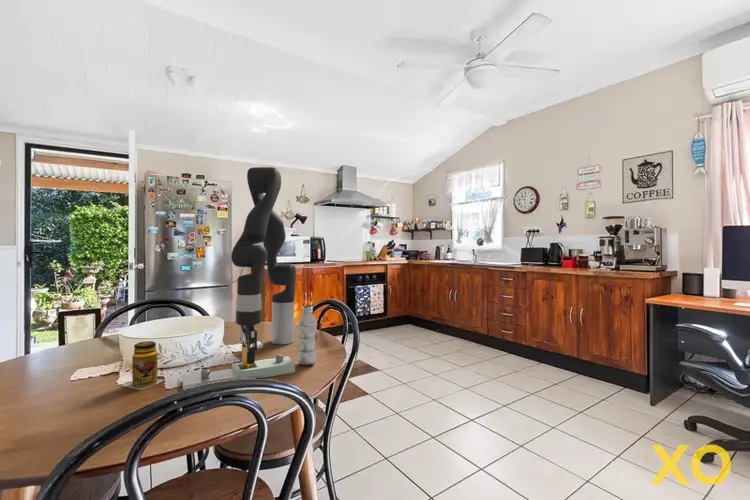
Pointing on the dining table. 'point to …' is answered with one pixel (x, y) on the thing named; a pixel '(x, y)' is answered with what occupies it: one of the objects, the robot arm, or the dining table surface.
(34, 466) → the dining table surface
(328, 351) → the dining table surface
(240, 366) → the block
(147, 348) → the condiment
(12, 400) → the dining table surface
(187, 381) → the lower chain end
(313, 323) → the plastic bottle
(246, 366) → the pin
